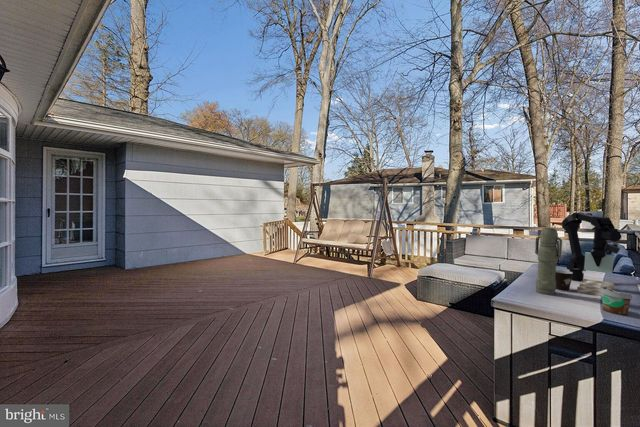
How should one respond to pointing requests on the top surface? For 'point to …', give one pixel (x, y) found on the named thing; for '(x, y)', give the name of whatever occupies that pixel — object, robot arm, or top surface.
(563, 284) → the coffee mug
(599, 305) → the top surface
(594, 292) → the rack
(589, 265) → the green board
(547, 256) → the thermos
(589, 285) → the offcut stack
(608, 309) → the food container
